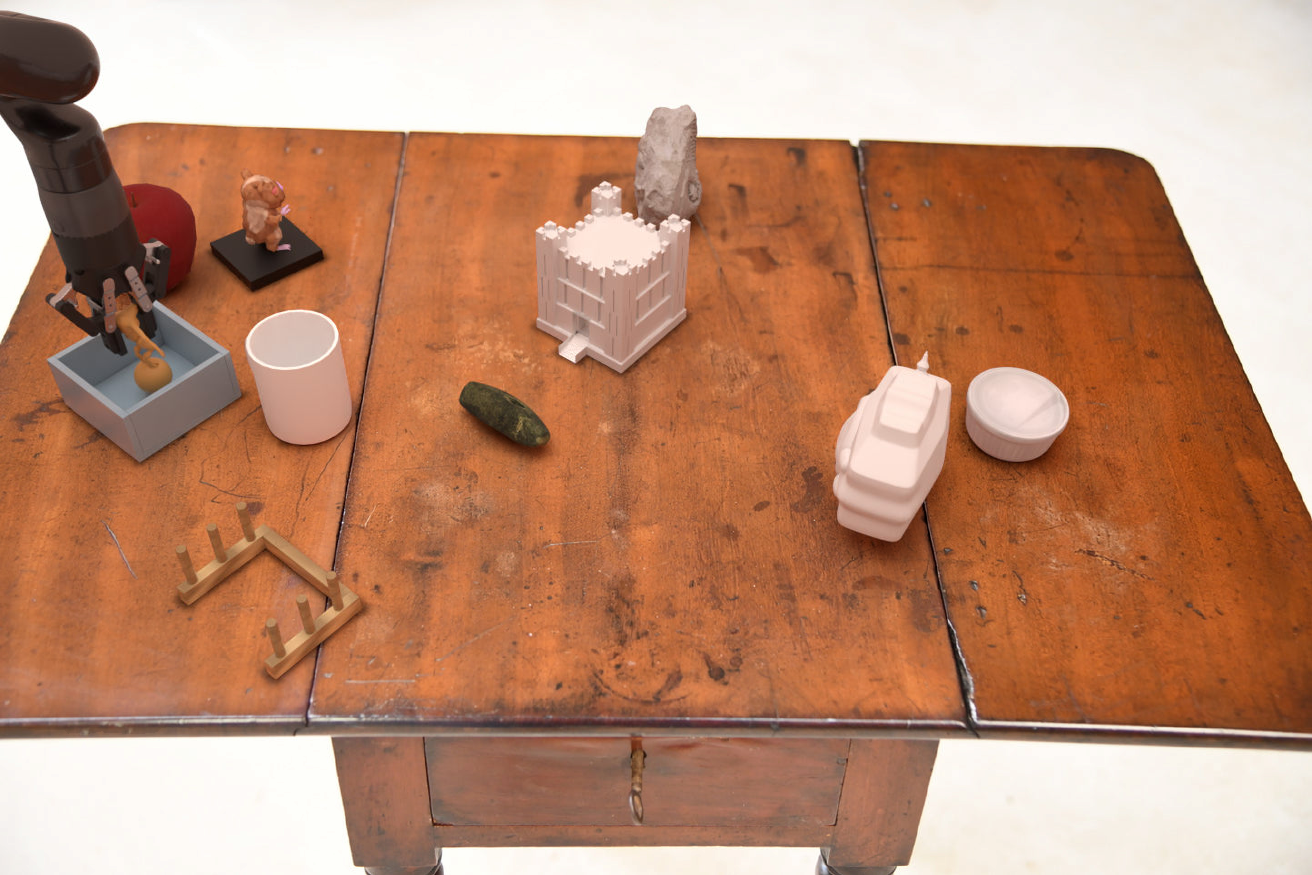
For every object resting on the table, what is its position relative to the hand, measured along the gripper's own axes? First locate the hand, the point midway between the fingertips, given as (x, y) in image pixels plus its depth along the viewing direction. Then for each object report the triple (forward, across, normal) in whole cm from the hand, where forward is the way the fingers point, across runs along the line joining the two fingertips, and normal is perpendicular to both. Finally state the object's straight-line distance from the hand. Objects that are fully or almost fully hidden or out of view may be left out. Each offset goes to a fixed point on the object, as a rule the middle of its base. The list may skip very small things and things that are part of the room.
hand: (133, 343), depth 136 cm
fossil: (+9, -66, +21) cm, 70 cm away
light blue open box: (+9, 0, 0) cm, 9 cm away
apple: (+9, -13, -17) cm, 23 cm away
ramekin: (+9, -59, +76) cm, 97 cm away
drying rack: (+9, +10, +32) cm, 35 cm away
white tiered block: (+9, -41, +70) cm, 82 cm away
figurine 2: (+9, -25, -11) cm, 29 cm away
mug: (+9, -9, +14) cm, 19 cm away
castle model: (+9, -43, +30) cm, 53 cm away
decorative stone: (+9, -22, +33) cm, 41 cm away
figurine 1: (+7, 0, 0) cm, 7 cm away
